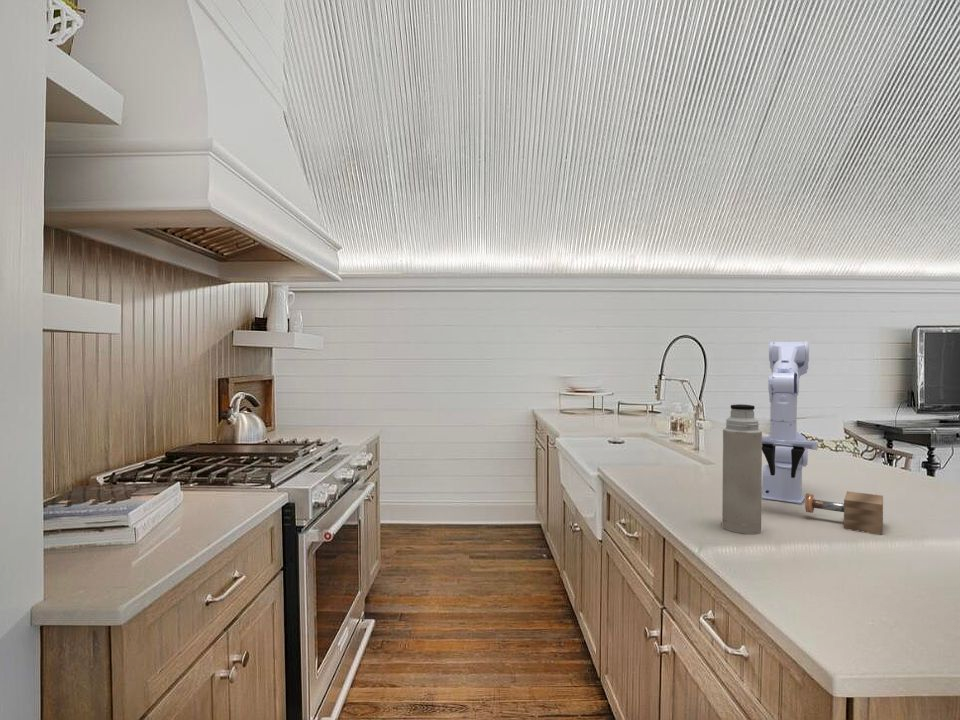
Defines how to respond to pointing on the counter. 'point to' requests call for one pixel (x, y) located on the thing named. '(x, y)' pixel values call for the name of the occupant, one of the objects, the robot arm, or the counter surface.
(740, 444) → the thermos bottle
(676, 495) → the counter surface
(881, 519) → the bearing block
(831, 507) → the copper capped shaft
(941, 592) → the counter surface
